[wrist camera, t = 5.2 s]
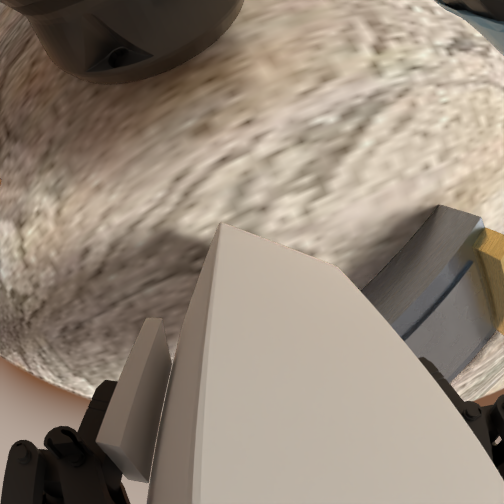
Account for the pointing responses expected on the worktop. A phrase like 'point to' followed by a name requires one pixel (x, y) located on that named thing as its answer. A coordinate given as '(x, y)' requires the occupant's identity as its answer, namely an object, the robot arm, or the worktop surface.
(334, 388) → the milk carton
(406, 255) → the grey tray
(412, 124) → the worktop surface
